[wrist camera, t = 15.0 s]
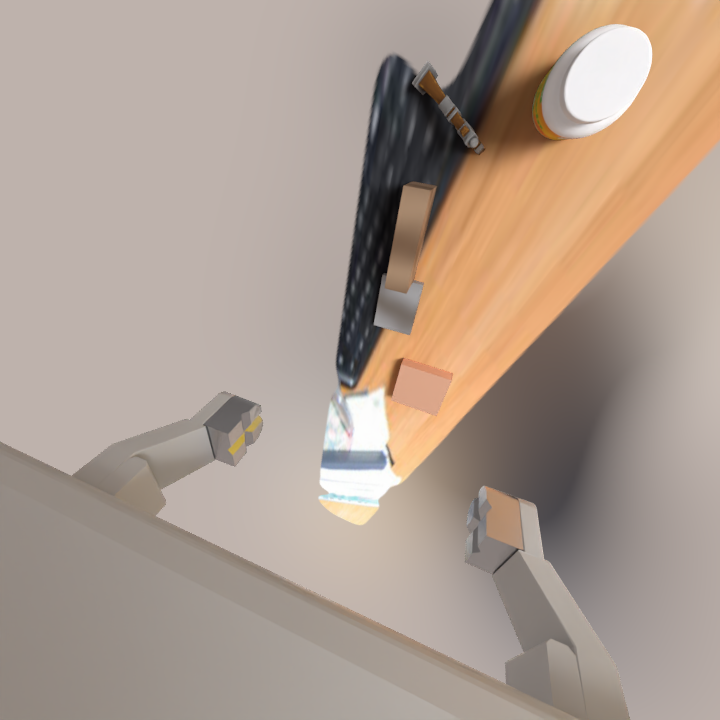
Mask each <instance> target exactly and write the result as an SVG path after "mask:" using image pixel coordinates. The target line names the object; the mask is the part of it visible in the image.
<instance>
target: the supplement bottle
mask: <svg viewBox="0 0 720 720" xmlns="http://www.w3.org/2000/svg"><path fill="white" fill-rule="evenodd" d="M651 62H652V47H651V44H650V41H649V39H648V37H647V36H646V34H645V33H644V32H642V31H641V30H639V29H637V28H634V27H629V26H626V25H620V24H612V25H606V26H602V27H599V28H597V29H594V30H592V31H590V32H588V33H587V34H585V35H584V36H582V37H581V38H579V39H578V40H577V41H575V42H574V43H573V44H572V45H571V46H570V47H569V48H568V49H567V50H566V51H565V52H564V53H563V54H562V55H561V57H560V58H559V59H558V60H557V62H556V63H555V64H554V65H553V67H552V68H551V69H550V71H549V72H548V73H547V74H546V76H545V77H544V79H543V80H542V82H541V83H540V85H539V87H538V89H537V92H536V94H535V97H534V101H533V106H532V118H533V122H534V125H535V127H536V129H537V130H538V132H539V133H540V134H541V135H543V136H544V137H546V138H548V139H552V140H566V139H577V138H583V137H587V136H590V135H593V134H595V133H597V132H599V131H601V130H603V129H604V128H606V127H608V126H609V125H611V124H612V123H613V122H614V121H616V120H617V119H618V118H619V117H620V116H621V115H622V114H623V113H624V112H625V111H626V110H627V109H628V107H629V106H630V105H631V103H632V102H633V101H634V99H635V97H636V96H637V94H638V92H639V91H640V89H641V88H642V86H643V84H644V82H645V80H646V78H647V76H648V73H649V70H650V67H651Z"/></svg>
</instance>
